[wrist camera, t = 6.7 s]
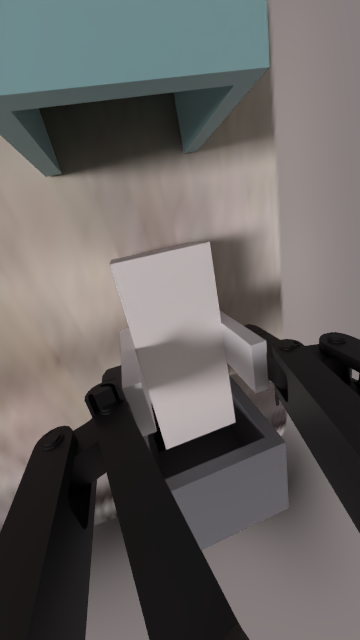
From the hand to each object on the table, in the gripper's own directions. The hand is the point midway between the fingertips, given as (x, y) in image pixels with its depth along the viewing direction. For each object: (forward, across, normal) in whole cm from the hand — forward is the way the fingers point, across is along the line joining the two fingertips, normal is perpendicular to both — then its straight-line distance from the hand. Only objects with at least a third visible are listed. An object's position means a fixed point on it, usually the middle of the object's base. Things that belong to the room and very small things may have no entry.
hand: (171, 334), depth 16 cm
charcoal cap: (+2, 0, -10) cm, 11 cm away
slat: (+1, 0, 0) cm, 1 cm away
